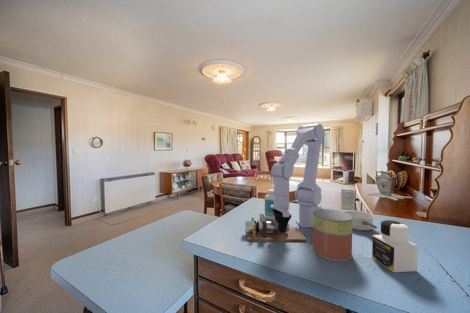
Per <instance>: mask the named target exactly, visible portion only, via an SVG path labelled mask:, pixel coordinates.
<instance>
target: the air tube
mask: <svg viewBox="0 0 470 313" xmlns="http://www.w3.org/2000/svg"><path fill="white" fill-rule="evenodd" d="M266 221H267V232H274V233H278V232H280V231H279V225H278V221H277V220H266ZM253 224H255V232H262V221H260V220H254V221H252V220H245V232H246V233H247V232H253ZM289 227H290V225H289V223H288V225H287V229H286V232H288V231H289Z"/></svg>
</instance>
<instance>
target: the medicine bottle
mask: <svg viewBox="0 0 470 313" xmlns="http://www.w3.org/2000/svg"><path fill="white" fill-rule="evenodd" d="M409 234H410V229H409V227H408V225H406V224H405V223H403V222H400V221H398V220H397V221H396V220H392V219H391V220H386V219H385V220H382V221H380V234H373V235H372V245H371V246H372V248H371V251H372V252H371V255H372V256H371V258H372V259H373V260H374V261H376V262H378V264H380V265H381V266H383V267H385V268H386V269H387V270H389V271H391V273H408V272H409V273H410V272H417V271H418V259H419V258H418V255H419V253H418V252H419V250H418V249H419V247H418V245H417V244H416V243H413V242H411V241H409Z"/></svg>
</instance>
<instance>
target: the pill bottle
mask: <svg viewBox="0 0 470 313" xmlns="http://www.w3.org/2000/svg"><path fill="white" fill-rule="evenodd" d="M271 205H274V188H273V189H271V188H270V189H267V194H266V195H264V216H265V218H266V220H268V221H274V220H275V216H274V213H273V210H272V208H271Z"/></svg>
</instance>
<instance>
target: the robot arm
mask: <svg viewBox="0 0 470 313" xmlns="http://www.w3.org/2000/svg"><path fill="white" fill-rule="evenodd" d="M324 138H325V128H324V126H323V124H322V123H314V124H307V125H299V126H298V128H297V129H296V137H295V138H294V140H293V142H292V144H291V147H290V148H289V147H288V148H286V149H285V150H284V153H283V154H282V155H281V157H280V159H279V160H278V162H276V163H274V164H273V165H272V166H271V170H270V175H271V177H272V182H273V189H274V205H271V208H272V210H273V213H274V216H275V220H277V221H278V225H279V231H280V233H285V232H286V229H287V225H288V224H289V222H290V220H291V219H292V214H291V213H290V179H291V178H292V177H293V174H294V168H295V164H296V163H297V161H298V159H299V157H300V153H299V152H300V151H301V149H302V148H303V147H304V145H305V146H306V147H307V151H306V152H307V153H306V158H305V167H304V172H303V180H302V181H301V182H299V183H298V184H297V188H296V189H295V190H296V191H294V192H295V193H294V198H295V200H296V201H297V203H298V219H295V222H296V223H297V225H299V226H300V227H301V228H313V211H315V210H318V209H323V206H322V205H321V202H322V199H323V198H322V188H321V187H320V186H319V185H318V184H317V175H318V168H319V167H318V166H319V162H320V161H319V159H320V153H321V146H322V145H323V144H324Z"/></svg>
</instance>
